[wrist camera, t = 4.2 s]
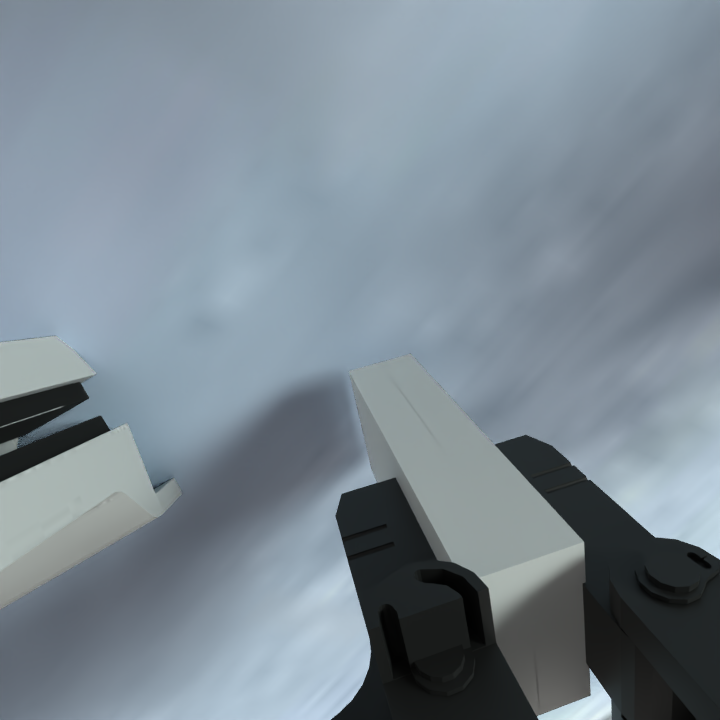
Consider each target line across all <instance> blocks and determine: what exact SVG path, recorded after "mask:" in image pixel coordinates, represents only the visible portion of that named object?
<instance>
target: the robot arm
mask: <svg viewBox="0 0 720 720" xmlns="http://www.w3.org/2000/svg"><path fill="white" fill-rule="evenodd" d="M349 375H350V379H351V383H352V387H353V392H354V396H355V400H356V405H357V409H358V413H359V418H360V422H361V426H362V430H363V435H364V439H365V443H366V448H367V452H368V456H369V461H370V465H371V469H372V471H373V474H374V476H375V478H376V480H377V483H376V484H372V485H369V486H366V487H363V488H360V489H356V490H353V491H350V492H347V493H343V494H342V495H341V499H340V502H339V506H338V509H337V513H336V519H337V523H338V527H339V530H340V534H341V537H342V541H343V545H344V548H345V552H346V556H347V559H348V563H349V566H350V570H351V574H352V577H353V581H354V584H355V588H356V592H357V595H358V599H359V602H360V606H361V609H362V613H363V617H364V620H365V624H366V627H367V631H368V635H369V638H370V645H371V658H370V666H369V670H368V672H367V675H366V677H365V680H364V683H363V685H362V686H361V688H360V689H359V691H358V692H357V694H356V695H355V697H354V698H353V700H352V701H351V702H350V703H349V704H348V705H347V706H346V707H345V708H344V709H343V710H342V711H341V712H340V713H339V714H337V715H336V716H335V717H334V718H332V719H331V720H538V718H537V716H538V715H541V714H544V713H546V712H549V711H551V710H554V709H557V708H559V707H562V706H564V705H567V704H569V703H572V702H575V701H577V700H580V699H582V698H585V697H588V696H590V671H589V668H590V669H591V671H592V672H593V673H594V675H595V676H596V678H597V679H598V680H599V682H600V683H601V685H602V686H603V688H604V689H605V690H606V692H607V693H608V695H609V696H610V698H611V703H612V720H720V560H719V559H718V558H716V557H714V556H713V555H711V554H709V553H708V552H706V551H705V550H703V549H701V548H700V547H697V546H694V545H691V544H688V543H685V542H682V541H679V540H676V539H665V538H655V537H654V536H653V535H651V534H650V533H649V532H648V531H647V530H646V529H645V528H644V527H642V526H641V525H640V524H639V523H638V522H637V521H636V520H635V519H633V518H632V517H631V516H630V515H629V514H628V513H627V512H626V511H624V510H623V509H622V508H621V507H620V506H619V505H618V504H617V503H616V502H614V501H613V500H612V499H611V498H610V497H609V496H608V495H607V494H605V493H604V492H603V491H602V490H601V489H600V488H599V487H598V486H596V485H595V484H594V483H593V482H592V481H591V480H587V478H586V476H585V475H584V474H583V473H582V472H581V471H580V470H578V469H577V468H576V467H575V466H571V463H570V462H569V461H568V460H567V459H566V458H565V457H564V456H563V455H562V454H560V453H559V452H558V451H557V450H556V449H555V448H554V447H553V446H551V445H549V444H546V443H544V442H542V441H539V440H537V439H534V438H532V437H529V436H527V435H524V436H521V437H517V438H514V439H511V440H508V441H505V442H501V443H498V444H495V445H494V444H493V443H492V441H491V440H490V439H489V438H488V437H487V436H486V435H485V434H484V433H483V432H482V431H481V430H480V428H479V427H478V426H477V425H476V424H475V423H474V422H473V421H472V420H471V419H470V418H469V416H468V415H467V414H466V413H465V412H464V411H463V410H462V409H461V408H460V407H459V406H458V405H457V403H456V402H455V401H454V400H453V399H452V398H451V397H450V396H449V395H448V394H447V393H446V392H445V390H444V389H443V388H442V387H441V386H440V385H439V384H438V383H437V382H436V381H435V380H434V379H433V377H432V376H431V375H430V374H429V373H428V372H427V371H426V370H425V369H424V368H423V367H422V366H421V364H420V363H419V362H418V361H417V360H416V359H415V358H414V357H413V356H412V355H411V354H408V355H404V356H400V357H397V358H393V359H390V360H386V361H383V362H379V363H375V364H372V365H368V366H365V367H361V368H358V369H354V370H350V371H349Z"/></svg>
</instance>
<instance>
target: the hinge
mask: <svg viewBox="0 0 720 720" xmlns="http://www.w3.org/2000/svg"><path fill="white" fill-rule="evenodd" d="M94 375H96V372H95V371H94V370H93V369H92V368H91V367H90V366H89V365H88V364H87V363H86V362H85V361H84V360H83V359H82V358H81V357H80V356H79V355H78V354H77V353H76V352H75V351H74V349H72V348H71V347H70V346H68V345H67V344H66V343H64V342H63V341H62V340H60V339H59V338H58V337H56V336H49V337H40V338H31V339H22V340H14V341H5V342H0V610H1V609H2V608H4V607H6V606H8V605H9V604H11V603H13V602H14V601H16V600H18V599H20V598H21V597H23V596H25V595H26V594H28V593H30V592H32V591H33V590H35V589H37V588H38V587H40V586H42V585H43V584H45V583H47V582H49V581H50V580H52V579H54V578H55V577H57V576H59V575H61V574H62V573H64V572H66V571H67V570H69V569H71V568H73V567H74V566H76V565H78V564H79V563H81V562H83V561H85V560H86V559H88V558H90V557H91V556H93V555H95V554H97V553H98V552H100V551H102V550H103V549H105V548H107V547H108V546H110V545H112V544H114V543H115V542H117V541H119V540H120V539H122V538H124V537H126V536H127V535H129V534H131V533H132V532H134V531H136V530H138V529H139V528H141V527H143V526H144V525H146V524H148V523H150V522H151V521H153V520H155V519H156V518H158V517H160V516H162V515H163V514H164V513H165V511H166V510H167V509H168V508H169V507H170V506H171V505H172V504H173V503H174V502H175V501H176V500H177V499H178V498H179V497H180V496H181V495H182V491H181V489H180V487H179V485H178V484H177V482H176V480H175V478H172V479H171V480H169V481H167V482H165V483H164V484H162V485H160V486H159V487H157V488H155V489H153V486H152V484H151V481H150V479H149V476H148V474H147V471H146V469H145V466H144V464H143V461H142V459H141V456H140V453H139V451H138V448H137V446H136V443H135V441H134V438H133V436H132V433H131V431H130V428H129V426H128V423H125V424H123V425H121V426H119V427H117V428H115V429H113V430H111V431H110V429H109V428H108V426H107V425H106V423H105V421H104V420H103V418H102V417H101V416H98V417H95V418H93V419H90V420H88V421H85V422H83V423H80V424H78V425H75V426H73V427H70V428H68V429H65V430H63V431H60V432H58V433H55V434H53V435H50V436H48V437H45V438H43V439H40V440H38V441H36V442H33V443H31V444H28V445H26V446H23V447H21V448H18V449H17V443H18V437H21V436H23V435H26V434H28V433H30V432H31V431H33V430H35V429H37V428H38V427H40V426H42V425H44V424H45V423H47V422H49V421H51V420H52V419H54V418H56V417H57V416H59V415H61V414H63V413H64V412H66V411H68V410H70V409H71V408H73V407H75V406H77V405H78V404H80V403H82V402H84V401H85V400H87V399H89V396H88V395H87V393H86V391H85V390H84V388H83V387H82V385H81V383H82V382H84V381H86V380H87V379H89V378H91V377H92V376H94Z"/></svg>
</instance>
